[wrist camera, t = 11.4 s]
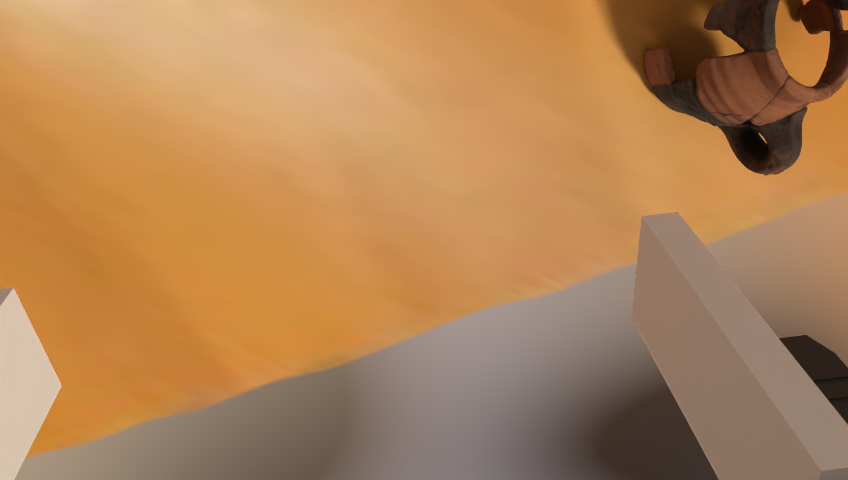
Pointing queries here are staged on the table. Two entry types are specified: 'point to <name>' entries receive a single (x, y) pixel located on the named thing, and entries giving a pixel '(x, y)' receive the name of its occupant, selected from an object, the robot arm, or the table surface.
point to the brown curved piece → (754, 81)
